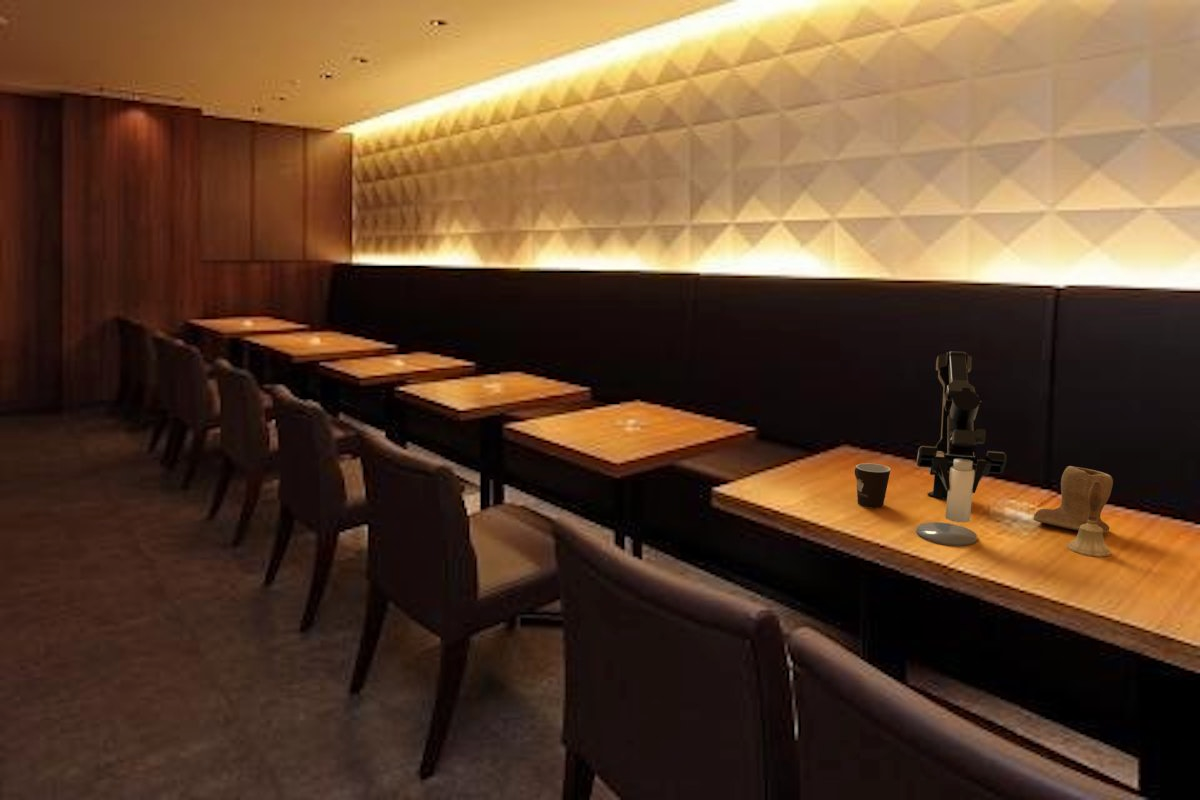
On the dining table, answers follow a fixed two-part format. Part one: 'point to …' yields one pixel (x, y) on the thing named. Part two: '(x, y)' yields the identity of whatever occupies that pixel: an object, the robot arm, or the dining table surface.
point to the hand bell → (1091, 528)
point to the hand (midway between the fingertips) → (960, 491)
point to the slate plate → (946, 534)
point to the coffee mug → (871, 484)
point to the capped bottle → (960, 491)
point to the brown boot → (1077, 499)
